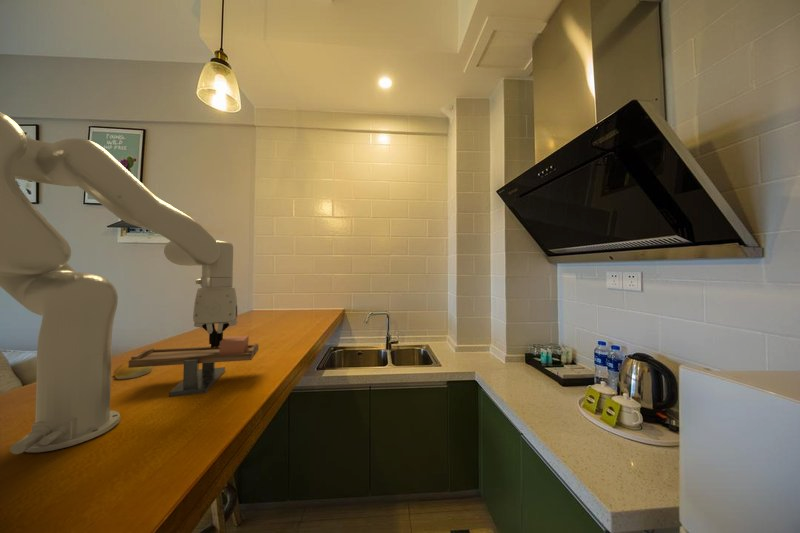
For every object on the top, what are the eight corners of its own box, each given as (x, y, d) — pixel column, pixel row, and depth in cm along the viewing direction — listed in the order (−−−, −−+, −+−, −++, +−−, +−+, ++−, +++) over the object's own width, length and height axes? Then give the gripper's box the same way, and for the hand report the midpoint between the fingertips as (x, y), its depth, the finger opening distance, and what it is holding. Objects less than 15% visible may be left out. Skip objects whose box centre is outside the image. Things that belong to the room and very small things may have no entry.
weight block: (243, 354, 79) (243, 340, 79) (219, 355, 77) (219, 341, 77) (248, 348, 84) (248, 335, 84) (225, 349, 83) (226, 336, 83)
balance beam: (250, 363, 77) (251, 352, 77) (127, 371, 69) (127, 358, 69) (258, 352, 88) (258, 342, 88) (151, 357, 79) (152, 346, 79)
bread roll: (116, 382, 78) (117, 368, 78) (112, 374, 83) (112, 361, 83) (155, 374, 84) (155, 361, 84) (148, 367, 90) (149, 355, 90)
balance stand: (205, 392, 72) (206, 360, 72) (169, 396, 69) (169, 363, 69) (224, 371, 87) (225, 344, 87) (195, 373, 85) (196, 346, 85)
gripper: (180, 284, 74) (179, 352, 74) (243, 284, 78) (241, 348, 78) (192, 282, 81) (190, 344, 81) (248, 282, 86) (247, 341, 85)
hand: (215, 346), depth 79 cm, fingers closed
